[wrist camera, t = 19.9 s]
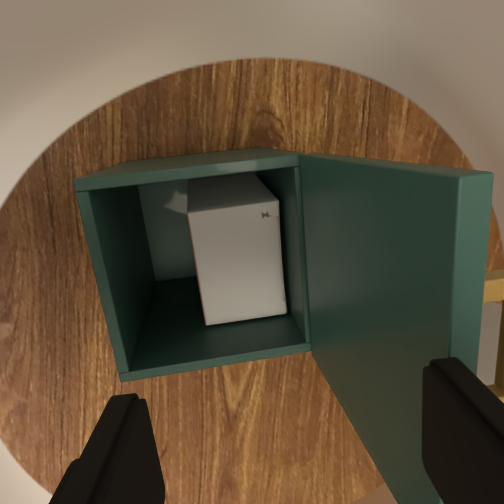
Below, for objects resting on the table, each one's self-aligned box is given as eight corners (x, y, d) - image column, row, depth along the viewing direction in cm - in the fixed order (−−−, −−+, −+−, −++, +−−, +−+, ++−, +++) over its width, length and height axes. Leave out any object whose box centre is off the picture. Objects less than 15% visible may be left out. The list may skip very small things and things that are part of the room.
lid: (435, 571, 11) (588, 530, 12) (459, 176, 8) (671, 149, 8) (312, 356, 22) (394, 340, 22) (299, 154, 19) (396, 143, 19)
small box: (187, 178, 32) (184, 209, 22) (254, 170, 32) (280, 197, 23) (201, 267, 35) (203, 329, 25) (262, 258, 35) (288, 316, 25)
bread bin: (150, 286, 35) (120, 383, 21) (126, 161, 32) (71, 179, 18) (271, 269, 36) (316, 350, 22) (259, 146, 33) (305, 153, 19)
